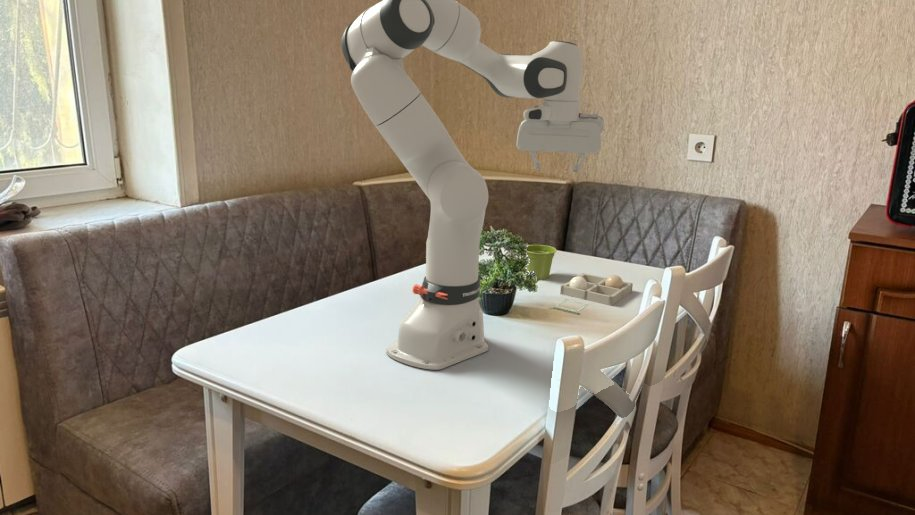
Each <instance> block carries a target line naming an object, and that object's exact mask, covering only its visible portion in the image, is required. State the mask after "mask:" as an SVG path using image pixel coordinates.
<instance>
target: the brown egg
mask: <svg viewBox="0 0 915 515" xmlns="http://www.w3.org/2000/svg"><path fill="white" fill-rule="evenodd" d="M606 278H607V279H606V281H605V286H608V287H613V288H617V289H621V288H622V287H623V282H624V281H623V279H622V277H620V276H619V275H617V274H611V275H609V276H608V277H606Z"/></svg>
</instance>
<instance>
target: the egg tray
mask: <svg viewBox="0 0 915 515" xmlns="http://www.w3.org/2000/svg"><path fill="white" fill-rule="evenodd" d="M579 276H580V277H583V278H584V279H585V280H586V282H587V289H586V290H582V289H577V288H573V287H569V283H570V281H571V280H569V281H567V282H565V283H563V284H562V285H560V295H562V296H567V297H571V298H575V299H579V300H585V301H587V302H593V303H597V304H602V305H606V306H609V307H610V306H611V307H612V306H613V305H615V304H616V303H617V302H620V301H621V300H622V299H624V298H625V297H626V296H628V295H629V294H630V293H632V292H633V283H632V282H627V281H623V287H622V288H621V289H617V288H613V287H608V286H605V281H606V279H607V278H608V277H604V276H599V275H594V274H591V273H582V274H580V275H579Z"/></svg>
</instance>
